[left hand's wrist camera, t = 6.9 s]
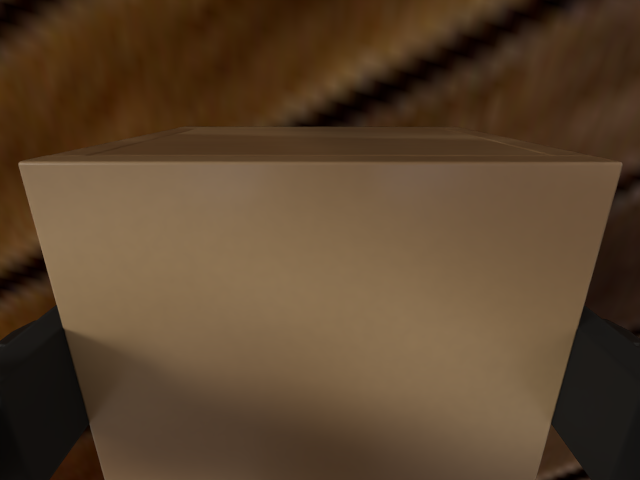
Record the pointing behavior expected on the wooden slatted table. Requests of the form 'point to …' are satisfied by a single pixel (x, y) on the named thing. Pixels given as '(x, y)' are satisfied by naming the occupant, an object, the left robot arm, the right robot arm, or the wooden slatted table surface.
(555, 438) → the wooden slatted table surface
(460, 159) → the cabinet
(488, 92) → the wooden slatted table surface
